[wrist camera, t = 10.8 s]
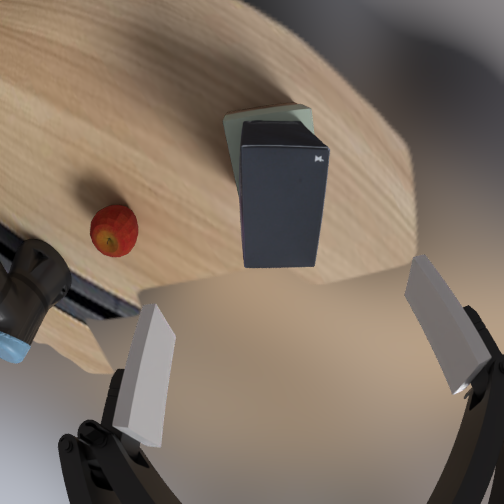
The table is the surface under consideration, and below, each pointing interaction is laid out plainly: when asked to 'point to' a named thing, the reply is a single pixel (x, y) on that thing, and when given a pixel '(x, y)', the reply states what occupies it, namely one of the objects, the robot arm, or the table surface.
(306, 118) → the tower top
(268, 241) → the small box
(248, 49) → the table surface
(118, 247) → the apple
